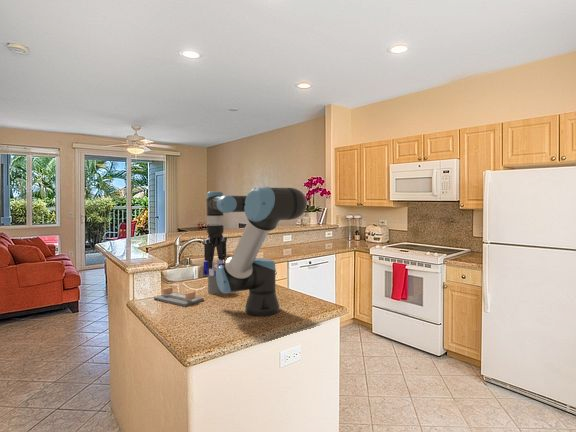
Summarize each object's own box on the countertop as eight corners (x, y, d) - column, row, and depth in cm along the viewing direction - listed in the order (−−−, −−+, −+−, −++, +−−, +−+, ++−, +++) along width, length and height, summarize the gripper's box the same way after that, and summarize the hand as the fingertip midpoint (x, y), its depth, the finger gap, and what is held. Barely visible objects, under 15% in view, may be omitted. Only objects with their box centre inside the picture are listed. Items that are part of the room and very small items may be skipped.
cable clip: (228, 275, 163) (228, 262, 163) (221, 277, 160) (220, 264, 160) (211, 272, 171) (210, 260, 170) (203, 274, 167) (203, 261, 167)
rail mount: (203, 300, 173) (203, 290, 173) (184, 306, 163) (184, 296, 162) (173, 294, 184) (173, 284, 184) (153, 299, 174) (153, 289, 174)
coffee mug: (227, 293, 186) (227, 274, 185) (208, 294, 183) (207, 275, 183) (226, 287, 199) (225, 269, 198) (207, 288, 196) (207, 270, 196)
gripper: (222, 223, 174) (222, 270, 175) (195, 225, 159) (196, 277, 160) (234, 223, 170) (234, 272, 171) (207, 226, 155) (208, 278, 156)
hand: (215, 274), depth 165 cm, fingers closed on cable clip, 5 cm apart
